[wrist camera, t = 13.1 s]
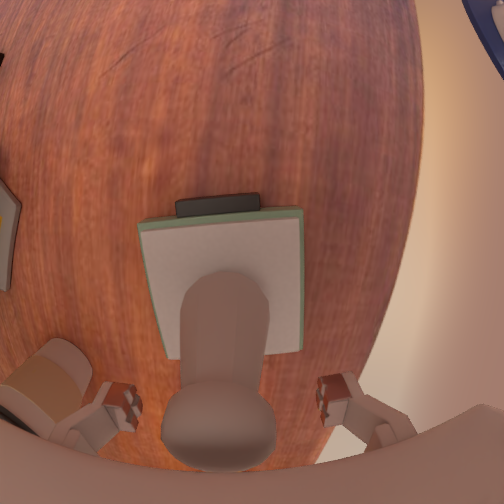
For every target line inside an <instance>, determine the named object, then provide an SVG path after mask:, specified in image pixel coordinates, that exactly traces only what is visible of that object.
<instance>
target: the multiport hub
mask: <svg viewBox="0 0 504 504" xmlns="http://www.w3.org/2000/svg"><path fill="white" fill-rule="evenodd" d="M3 57H4V54H3V53H0V66H1V63H2V60H3Z"/></svg>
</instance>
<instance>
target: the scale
mask: <svg viewBox="0 0 504 504" xmlns="http://www.w3.org/2000/svg"><path fill="white" fill-rule="evenodd" d="M175 207H176V215H174V216H165V217H156V218H148V219H144V220H143V221H141V222H139V223H137V228H138V234H139V240H140V246H141V252H142V257H143V263H144V268H145V273H146V278H147V283H148V287H149V292H150V296H151V301H152V305H153V309H154V313H155V317H156V321H157V325H158V329H159V333H160V336H161V340H162V344H163V347H164V351H165V354H166V357H167V358H169V359H180V309H181V305H182V302H183V299H184V296H185V293H186V291H187V290H188V289H189V288H190V287H191V286H192V285H193V284H194V283H195V282H196V281H197V280H198V279H199V278H200V277H202V276H206V275H209V274H212V273H215V272H218V271H224V272H233V273H240V274H242V275H244V276H245V277H247V278H249V279H251V280H252V281H254V282H256V283H257V284H258V286H259V287H260V289H261V290H262V292H263V293H264V295H265V296H266V298H267V300H268V301H269V312H270V322H269V328H268V335H267V341H266V347H265V353H264V355H270V354H280V353H289V352H297V351H299V350H302V349H303V332H304V216H303V209H302V208H300V207H298V206H281V207H266V208H260V196H259V194H258V193H257V192H255V193H241V194H228V195H217V196H206V197H196V198H187V199H180V200H178V201H176V202H175Z"/></svg>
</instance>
